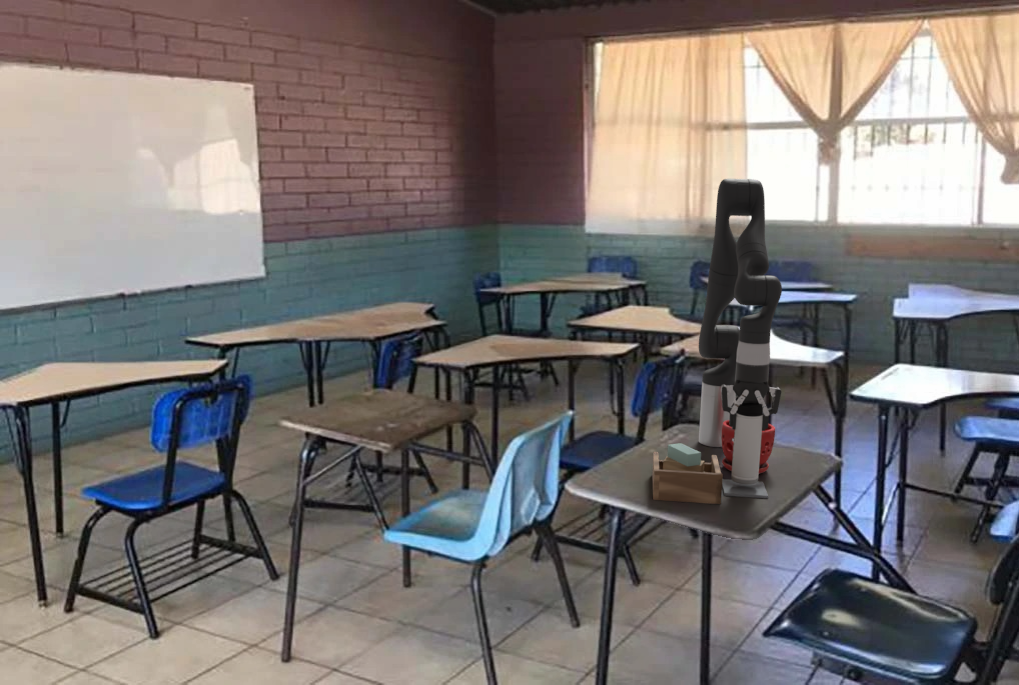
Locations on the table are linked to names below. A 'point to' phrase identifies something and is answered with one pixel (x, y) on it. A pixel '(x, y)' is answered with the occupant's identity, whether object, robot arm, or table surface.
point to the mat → (744, 489)
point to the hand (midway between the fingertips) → (748, 429)
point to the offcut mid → (681, 466)
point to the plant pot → (765, 449)
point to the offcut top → (684, 454)
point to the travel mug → (747, 443)
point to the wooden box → (687, 483)
